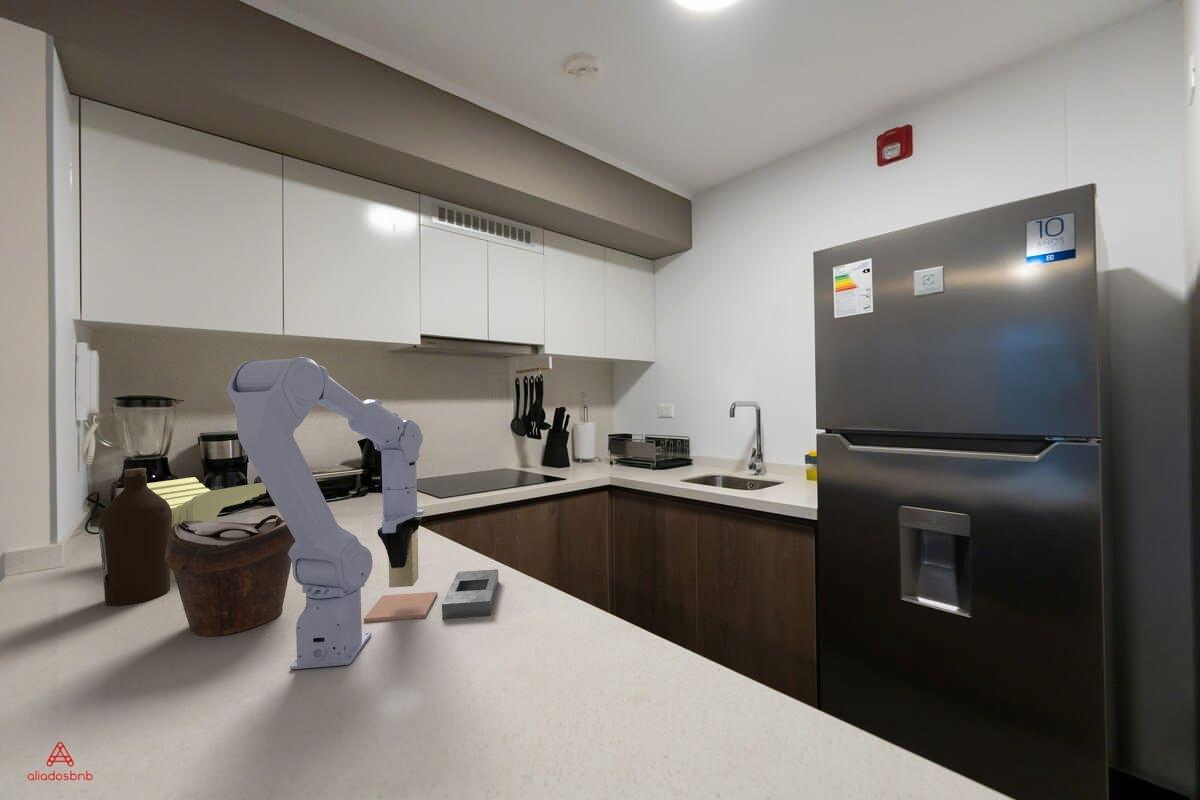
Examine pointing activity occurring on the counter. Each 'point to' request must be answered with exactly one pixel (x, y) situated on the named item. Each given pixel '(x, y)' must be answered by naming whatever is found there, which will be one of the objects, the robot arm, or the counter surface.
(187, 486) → the slatted curved stool
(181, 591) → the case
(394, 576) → the brass bar
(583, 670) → the counter surface
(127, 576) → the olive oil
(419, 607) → the terracotta tile
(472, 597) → the grey slotted block
